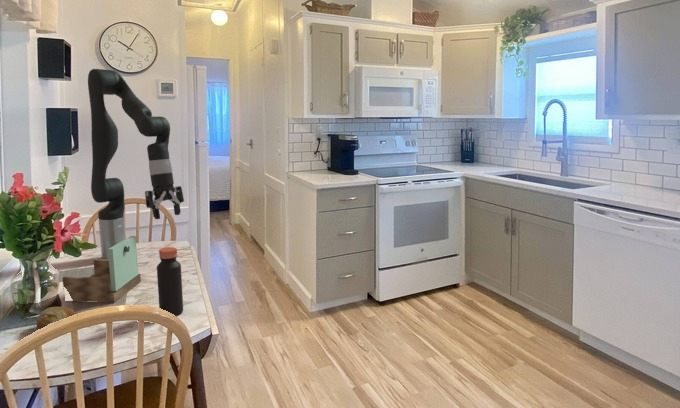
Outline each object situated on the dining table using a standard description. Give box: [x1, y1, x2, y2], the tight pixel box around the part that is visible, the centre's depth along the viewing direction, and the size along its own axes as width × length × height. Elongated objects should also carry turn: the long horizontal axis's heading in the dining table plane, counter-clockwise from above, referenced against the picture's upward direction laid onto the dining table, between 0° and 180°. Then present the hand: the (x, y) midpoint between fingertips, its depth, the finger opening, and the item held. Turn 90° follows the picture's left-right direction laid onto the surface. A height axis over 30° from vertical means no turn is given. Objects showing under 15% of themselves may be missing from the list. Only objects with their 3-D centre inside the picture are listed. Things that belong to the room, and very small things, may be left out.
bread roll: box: [34, 306, 77, 331], centre depth 131 cm, size 10×10×8 cm
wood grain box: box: [62, 258, 142, 303], centre depth 158 cm, size 16×19×8 cm
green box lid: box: [108, 235, 139, 291], centre depth 156 cm, size 2×16×14 cm, turn 179°
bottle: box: [156, 246, 184, 316], centre depth 140 cm, size 7×7×20 cm
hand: (167, 216), depth 170 cm, fingers open, 8 cm apart
